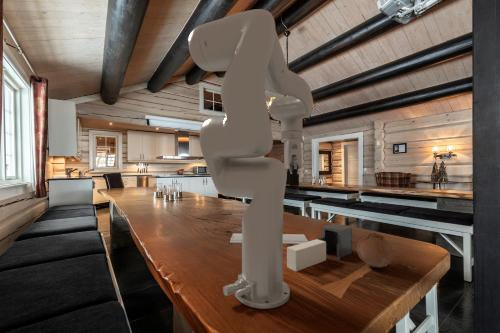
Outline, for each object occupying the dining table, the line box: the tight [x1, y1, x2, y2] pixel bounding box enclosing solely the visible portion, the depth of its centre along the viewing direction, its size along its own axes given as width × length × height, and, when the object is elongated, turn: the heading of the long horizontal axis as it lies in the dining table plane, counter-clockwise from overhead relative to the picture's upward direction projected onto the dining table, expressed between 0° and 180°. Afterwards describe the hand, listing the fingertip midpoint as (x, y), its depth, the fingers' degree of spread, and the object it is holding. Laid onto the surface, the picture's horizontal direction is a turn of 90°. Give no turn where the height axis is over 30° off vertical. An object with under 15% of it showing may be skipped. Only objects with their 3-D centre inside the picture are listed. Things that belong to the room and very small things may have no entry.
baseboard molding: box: [228, 232, 309, 245], centre depth 94 cm, size 31×3×12 cm
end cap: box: [316, 223, 353, 261], centre depth 79 cm, size 10×9×9 cm
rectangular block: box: [286, 238, 327, 272], centre depth 70 cm, size 14×4×6 cm, turn 126°
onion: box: [356, 232, 394, 269], centre depth 67 cm, size 10×9×10 cm
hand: (291, 185), depth 82 cm, fingers open, 9 cm apart
